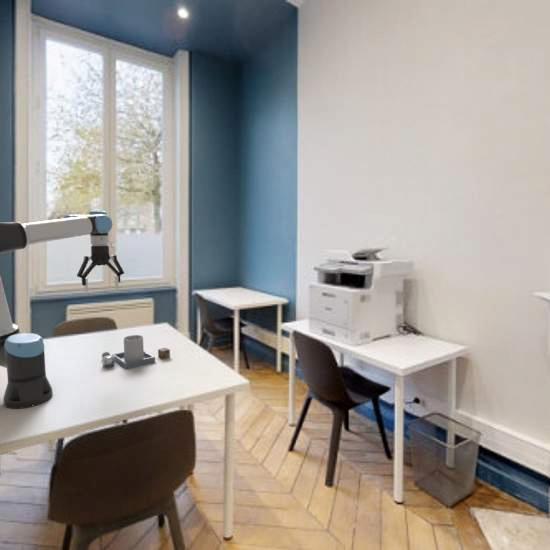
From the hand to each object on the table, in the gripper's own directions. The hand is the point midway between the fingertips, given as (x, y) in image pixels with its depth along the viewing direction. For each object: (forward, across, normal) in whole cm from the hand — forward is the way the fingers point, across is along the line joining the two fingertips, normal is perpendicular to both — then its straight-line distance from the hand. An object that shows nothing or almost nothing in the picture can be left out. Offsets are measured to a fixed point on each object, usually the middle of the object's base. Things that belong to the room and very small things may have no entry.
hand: (102, 290), depth 181 cm
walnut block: (+33, +22, -16) cm, 43 cm away
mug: (+32, +9, -11) cm, 35 cm away
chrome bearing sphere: (+33, -2, -10) cm, 34 cm away
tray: (+33, +9, -11) cm, 36 cm away
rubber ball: (+31, 0, -1) cm, 31 cm away
